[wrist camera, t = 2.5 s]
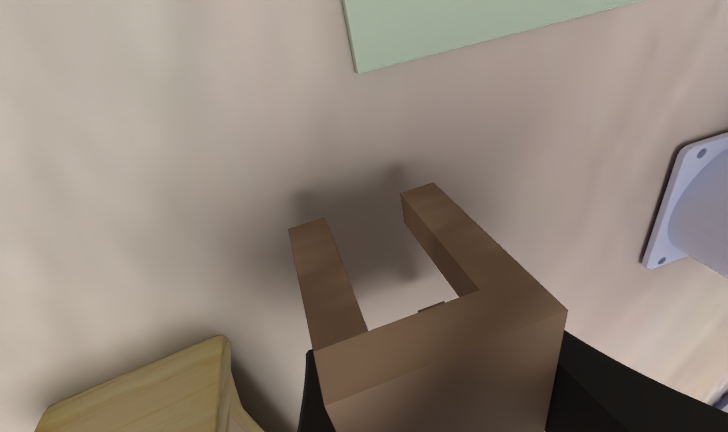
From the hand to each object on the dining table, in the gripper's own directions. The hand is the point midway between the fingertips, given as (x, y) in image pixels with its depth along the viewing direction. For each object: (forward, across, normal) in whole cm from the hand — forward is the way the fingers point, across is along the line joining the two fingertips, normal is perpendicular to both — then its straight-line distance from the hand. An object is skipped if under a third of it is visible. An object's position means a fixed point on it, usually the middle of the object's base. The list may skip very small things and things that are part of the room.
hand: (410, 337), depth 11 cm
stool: (+3, 0, 0) cm, 3 cm away
